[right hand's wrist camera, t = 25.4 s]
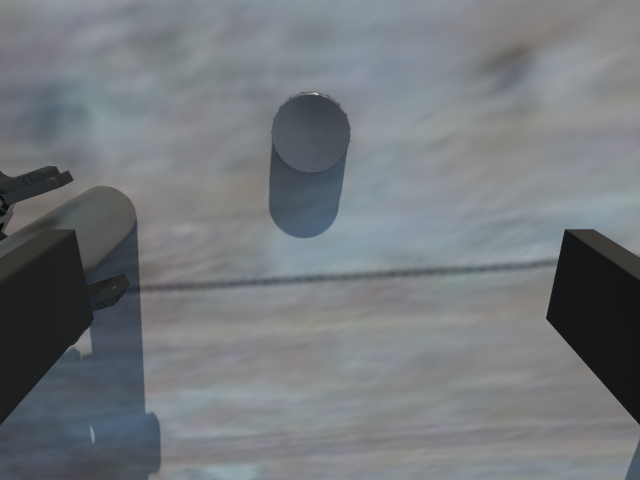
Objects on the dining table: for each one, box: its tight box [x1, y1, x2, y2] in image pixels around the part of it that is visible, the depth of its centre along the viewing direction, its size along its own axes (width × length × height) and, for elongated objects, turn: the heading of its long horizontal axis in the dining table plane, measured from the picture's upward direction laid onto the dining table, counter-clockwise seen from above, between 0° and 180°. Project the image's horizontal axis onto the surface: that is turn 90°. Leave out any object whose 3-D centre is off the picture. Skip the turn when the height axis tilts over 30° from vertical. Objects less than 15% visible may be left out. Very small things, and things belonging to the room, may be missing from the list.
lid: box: [271, 91, 351, 173], centre depth 34 cm, size 6×6×2 cm
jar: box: [0, 186, 136, 276], centre depth 29 cm, size 5×5×16 cm
